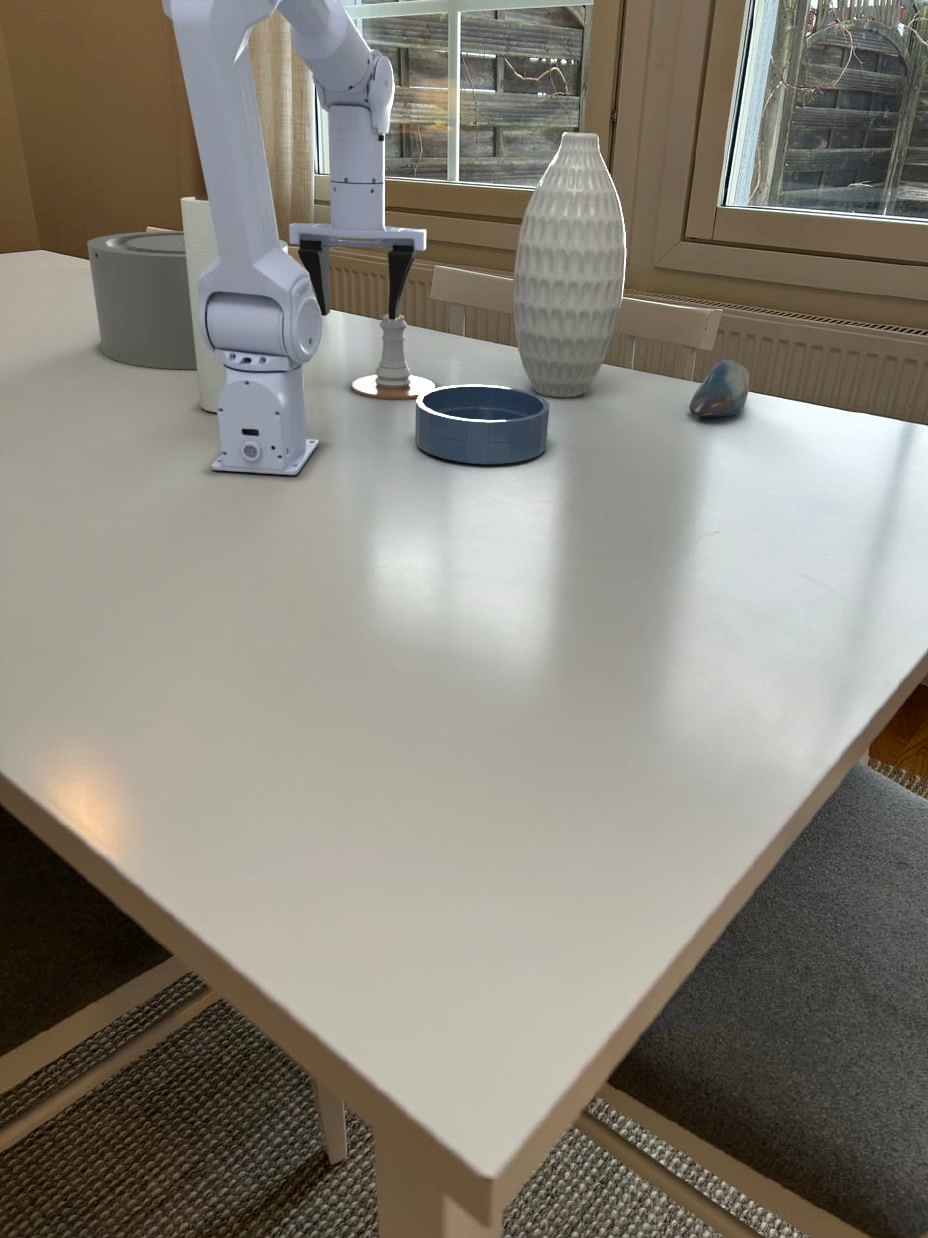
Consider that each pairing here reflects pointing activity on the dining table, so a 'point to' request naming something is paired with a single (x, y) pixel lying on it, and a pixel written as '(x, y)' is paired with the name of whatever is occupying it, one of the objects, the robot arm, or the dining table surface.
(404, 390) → the coaster
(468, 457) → the bowl
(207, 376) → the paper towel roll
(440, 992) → the dining table surface
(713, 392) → the seashell
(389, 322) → the rook chess piece
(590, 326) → the vase
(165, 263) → the container
